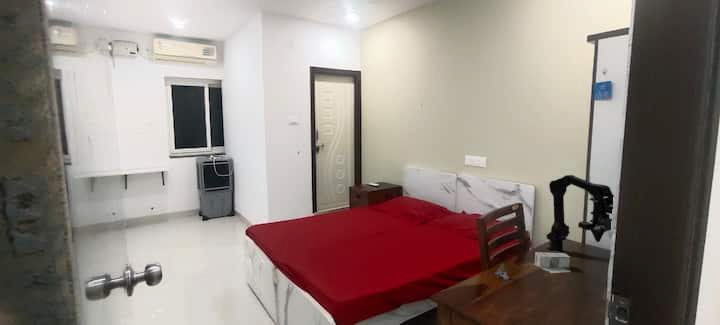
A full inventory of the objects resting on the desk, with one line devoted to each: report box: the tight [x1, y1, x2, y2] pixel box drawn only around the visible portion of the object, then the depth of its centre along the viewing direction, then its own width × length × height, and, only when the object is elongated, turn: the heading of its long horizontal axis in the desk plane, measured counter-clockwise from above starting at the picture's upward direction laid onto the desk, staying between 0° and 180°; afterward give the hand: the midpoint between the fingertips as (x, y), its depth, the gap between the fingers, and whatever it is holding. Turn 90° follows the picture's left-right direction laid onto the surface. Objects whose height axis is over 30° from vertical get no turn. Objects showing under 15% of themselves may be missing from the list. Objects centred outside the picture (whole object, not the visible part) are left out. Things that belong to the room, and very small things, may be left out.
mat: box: [533, 262, 572, 274], centre depth 172 cm, size 12×11×1 cm
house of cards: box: [494, 263, 510, 281], centre depth 160 cm, size 9×9×8 cm
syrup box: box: [534, 251, 571, 269], centre depth 174 cm, size 6×6×14 cm
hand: (597, 241), depth 174 cm, fingers closed
